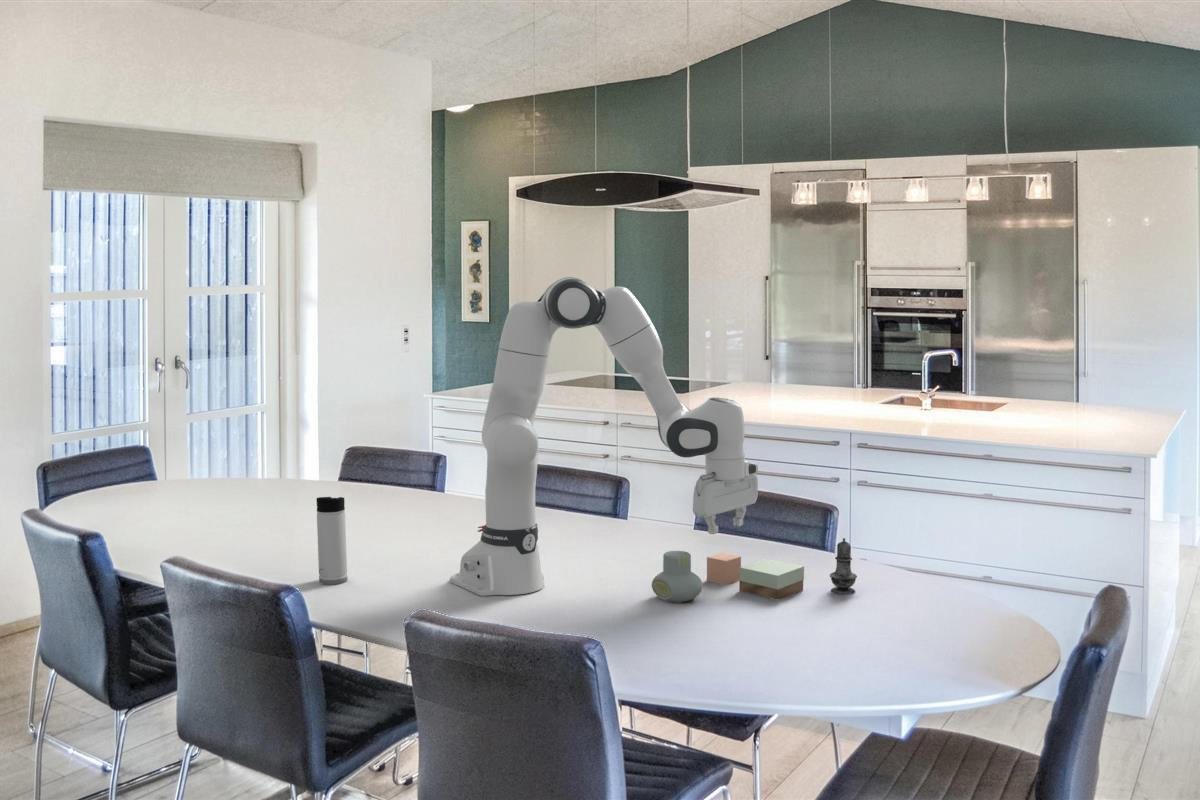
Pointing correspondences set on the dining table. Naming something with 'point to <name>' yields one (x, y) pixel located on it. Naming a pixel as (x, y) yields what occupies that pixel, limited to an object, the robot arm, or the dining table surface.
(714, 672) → the dining table surface
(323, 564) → the travel mug
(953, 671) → the dining table surface
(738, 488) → the robot arm
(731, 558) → the terracotta block
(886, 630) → the dining table surface
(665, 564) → the air freshener
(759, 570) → the sage top block
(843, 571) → the dark turned finial
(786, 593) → the walnut base block
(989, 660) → the dining table surface
